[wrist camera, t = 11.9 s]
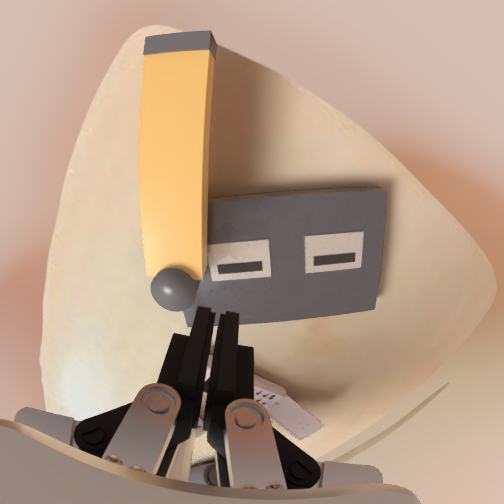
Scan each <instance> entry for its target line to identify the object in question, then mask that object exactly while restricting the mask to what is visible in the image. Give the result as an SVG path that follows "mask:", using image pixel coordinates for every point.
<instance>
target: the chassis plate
mask: <svg viewBox="0 0 504 504" xmlns="http://www.w3.org/2000/svg"><path fill="white" fill-rule="evenodd" d="M386 192H387V191H386V190H384V189H382V188H380V187H355V188H331V189H312V190H297V191H283V192H270V193H259V194H248V195H238V196H228V197H219V198H210V199H208V211H207V267H206V270H205V273H204V276H203V280H201V282H200V285H199V288H198V291H197V294H196V298H195V301H194V303H193V304H192V306H191V307H189V308H188V309H186V310H183V312H184V316H185V319H186V323H187V326H188V327H192V325H193V322H194V318H195V315H196V311H197V308H198V306H203V307H208V308H211V312H216V315H215V321H214V326H218V324H219V318H220V313H221V314H226V311H230V312H236V313H239V325H242V324H256V323H268V322H280V321H290V320H300V319H309V318H317V317H326V316H333V315H341V314H348V313H355V312H362V311H368V310H374V309H375V304H376V298H377V292H378V285H379V278H380V270H381V262H382V252H383V242H384V230H385V215H386Z"/></svg>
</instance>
